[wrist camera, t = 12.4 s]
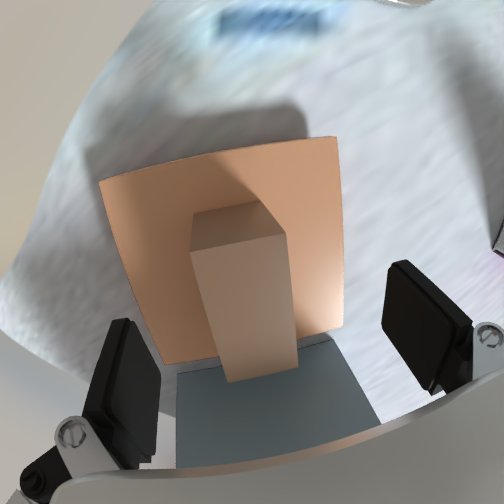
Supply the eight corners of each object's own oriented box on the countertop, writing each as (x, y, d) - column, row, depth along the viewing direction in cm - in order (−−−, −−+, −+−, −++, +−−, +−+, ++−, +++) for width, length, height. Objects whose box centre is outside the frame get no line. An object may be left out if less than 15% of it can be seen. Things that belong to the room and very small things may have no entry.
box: (177, 373, 22) (179, 540, 9) (333, 339, 23) (413, 483, 10) (215, 445, 27) (231, 556, 15) (329, 419, 28) (372, 522, 16)
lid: (112, 174, 16) (55, 207, 9) (319, 135, 17) (389, 144, 10) (167, 342, 21) (160, 423, 14) (329, 307, 22) (374, 375, 15)
